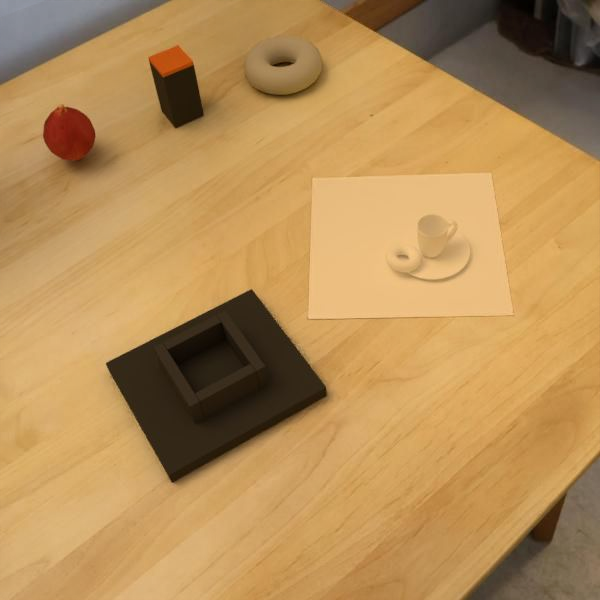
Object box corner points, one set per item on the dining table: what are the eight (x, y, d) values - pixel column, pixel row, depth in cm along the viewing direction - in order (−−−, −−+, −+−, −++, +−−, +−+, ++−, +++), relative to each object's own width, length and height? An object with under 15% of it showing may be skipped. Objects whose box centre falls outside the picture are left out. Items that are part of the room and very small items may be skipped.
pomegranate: (45, 170, 101) (23, 117, 95) (68, 138, 104) (48, 85, 98) (88, 179, 99) (69, 125, 93) (110, 146, 103) (93, 92, 96)
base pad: (172, 483, 74) (161, 458, 71) (109, 371, 82) (97, 344, 79) (327, 395, 79) (324, 368, 75) (253, 297, 87) (248, 269, 83)
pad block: (175, 128, 104) (162, 74, 98) (161, 111, 106) (147, 57, 100) (204, 115, 105) (193, 61, 99) (190, 99, 107) (178, 44, 101)
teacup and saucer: (385, 283, 86) (386, 257, 83) (383, 226, 91) (383, 198, 88) (473, 281, 86) (477, 254, 83) (466, 223, 91) (469, 196, 87)
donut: (339, 76, 108) (289, 41, 113) (338, 53, 105) (287, 19, 110) (277, 112, 105) (229, 74, 110) (275, 89, 102) (225, 52, 107)
